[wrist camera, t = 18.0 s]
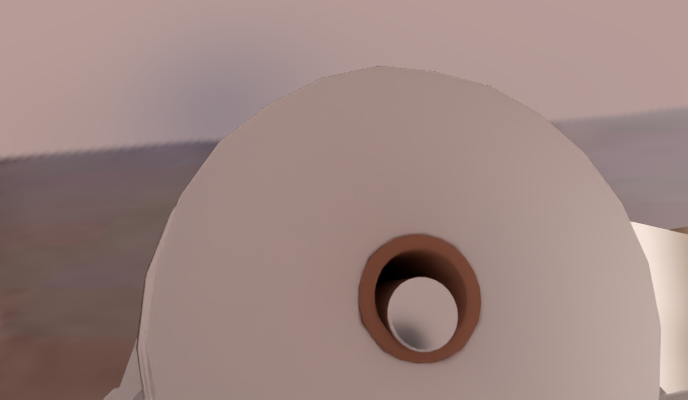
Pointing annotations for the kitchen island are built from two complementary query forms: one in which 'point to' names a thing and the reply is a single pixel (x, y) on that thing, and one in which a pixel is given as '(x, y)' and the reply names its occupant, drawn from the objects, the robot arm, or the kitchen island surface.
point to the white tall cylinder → (398, 257)
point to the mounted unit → (669, 298)
